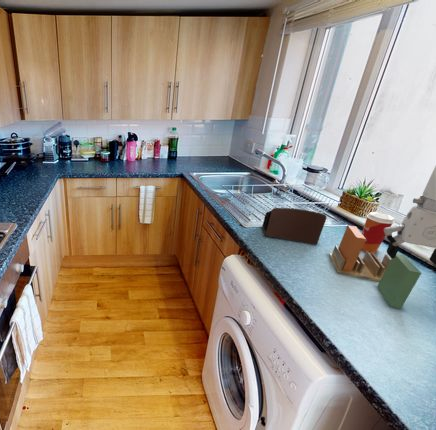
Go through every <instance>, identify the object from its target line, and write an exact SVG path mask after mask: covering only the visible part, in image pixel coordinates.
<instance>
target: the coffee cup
mask: <svg viewBox="0 0 436 430" xmlns="http://www.w3.org/2000/svg"><path fill="white" fill-rule="evenodd" d="M393 224H395V217H393V216H392V215H390V214H386V213H383V212H379V211H370V212H369V213H368V214H366V220H365V222H364V225H363V227H362V231H361V233H362V235H363V236H364V237H365V238H366V240H365V243H364V245H363V247H362V249H361V252H365V253H366V251H368V252H369V253H371V252H373V253H374V254H375V253H376V252H377V251H378V250H379V248H380V246H381V244H382V243H383V241H384V239H385V238H386V236H385V232H384V228H387V227H392V226H393Z"/></svg>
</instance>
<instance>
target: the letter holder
mask: <svg viewBox="0 0 436 430" xmlns="http://www.w3.org/2000/svg"><path fill="white" fill-rule="evenodd" d="M326 221H327V215H326V214H324V213H320V212H317V211H311V210H306V209H300V208H289V207H273V208H272V209H271V210H269V211H267V212H265V215H264V219H263V221H262V226H261V228H262V230H263V234H264V237H268V238H275V239H281V240H286V241H293V242H298V243H305V244H311V245H316V246H317V245H318V243H319V240H320V237H321V235H322V232H323V229H324V226H325V224H326Z"/></svg>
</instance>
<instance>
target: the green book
mask: <svg viewBox="0 0 436 430" xmlns="http://www.w3.org/2000/svg"><path fill="white" fill-rule="evenodd" d="M390 259H391V260H390V262H389V264H388V266H387V268H386V270H385V272H384V274H383V276H382V278H381V280H380V282H378V284H377V286H376V288H377V290H378V291H379V293H380V294H381V295H382V297H383V299H384V300H385V302H386V303H387V304H388V306H389V307H390V308H394V309H399V310H401V309H402V308H403V306H404V305H405V303H406V301H407V299H408V298H409V296H410V294H411V293H412V291H413V289H414V288H415V286H416V284H417V282H418V280H419V278H420V277H421V275H422V272H421V270H419V268H417V266H416V265H415V264H414V263H413V262H412V261H411V260H410V259H409V258H408V257H407V256H406V255H405V254H402V253H397V254H396V256H395V258H391V257H390Z"/></svg>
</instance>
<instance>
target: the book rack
mask: <svg viewBox="0 0 436 430" xmlns="http://www.w3.org/2000/svg"><path fill="white" fill-rule="evenodd" d="M328 256H329V258H330V260H331V263H332V264H333V266H334V268H335V270H336V273H337V274H339V275H343V276H344V275H345V276H349V277H353V278H359V279H363V280H368V281H374V282H378V283H379V282H380V280H381V278H382V276H383V274H384V272H385V270H386V268H387V266H388V264H389V262H390V260H391V257H390V256H389V255H388V254H387V253H386V254H384V256H383V258H382V260H381V261H380V259H379V258H378V257H377V256H376V254H375V253H373V252H371V253H369V252H368V251H366V252H365V253H364V255H363V257H361V256H360V255H359V256H358V258H357V261H356V263H355V265H354V267H353V270H352V271H347V270H343V269H342V268H343V265H344V263H345V259H344V257H343V255H342V254H341V252H340V250H339V246H338V245H335V246H334V248H333V250H332V252H329V253H328Z"/></svg>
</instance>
